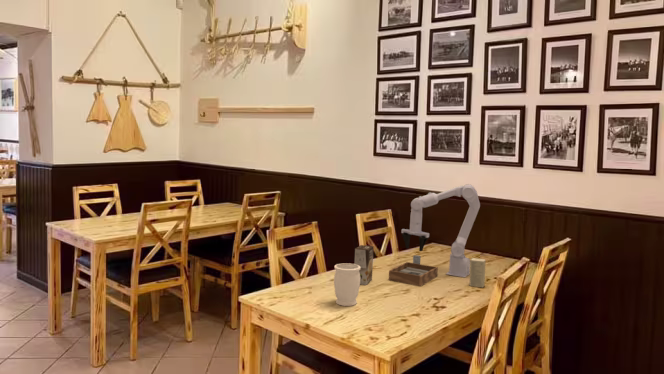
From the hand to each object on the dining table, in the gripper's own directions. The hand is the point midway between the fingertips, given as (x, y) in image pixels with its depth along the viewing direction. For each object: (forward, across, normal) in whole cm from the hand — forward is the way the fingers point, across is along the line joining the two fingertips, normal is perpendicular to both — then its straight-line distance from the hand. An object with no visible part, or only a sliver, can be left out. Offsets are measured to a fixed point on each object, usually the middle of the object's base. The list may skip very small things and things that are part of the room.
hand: (414, 249), depth 265 cm
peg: (+10, +1, +2) cm, 11 cm away
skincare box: (+10, +35, -3) cm, 36 cm away
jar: (+11, +5, -63) cm, 64 cm away
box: (+10, +8, -13) cm, 18 cm away
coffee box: (+11, -6, -34) cm, 37 cm away
